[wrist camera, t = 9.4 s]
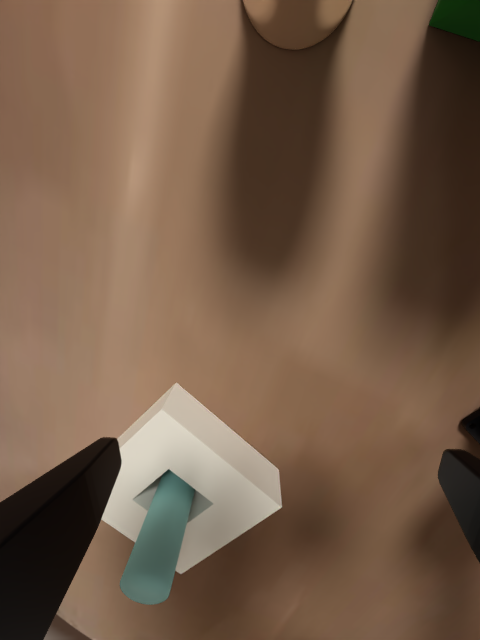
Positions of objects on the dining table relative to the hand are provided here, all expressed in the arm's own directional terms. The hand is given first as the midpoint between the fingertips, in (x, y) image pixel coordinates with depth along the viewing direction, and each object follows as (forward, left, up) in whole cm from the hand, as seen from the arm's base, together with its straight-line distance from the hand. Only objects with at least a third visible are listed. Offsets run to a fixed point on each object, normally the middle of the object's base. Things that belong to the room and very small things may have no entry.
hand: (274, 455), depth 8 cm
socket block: (-5, +15, -13) cm, 20 cm away
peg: (-5, +15, -13) cm, 20 cm away
